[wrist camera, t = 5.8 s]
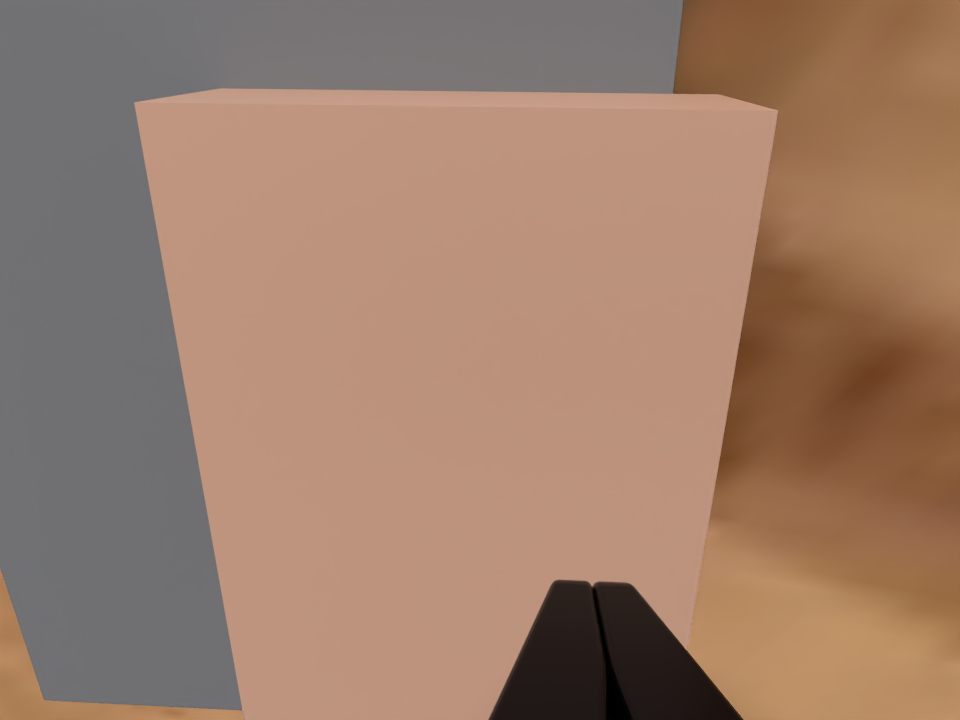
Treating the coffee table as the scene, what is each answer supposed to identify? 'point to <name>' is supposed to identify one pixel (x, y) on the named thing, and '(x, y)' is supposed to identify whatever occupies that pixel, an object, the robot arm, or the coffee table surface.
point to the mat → (144, 296)
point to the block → (448, 367)
